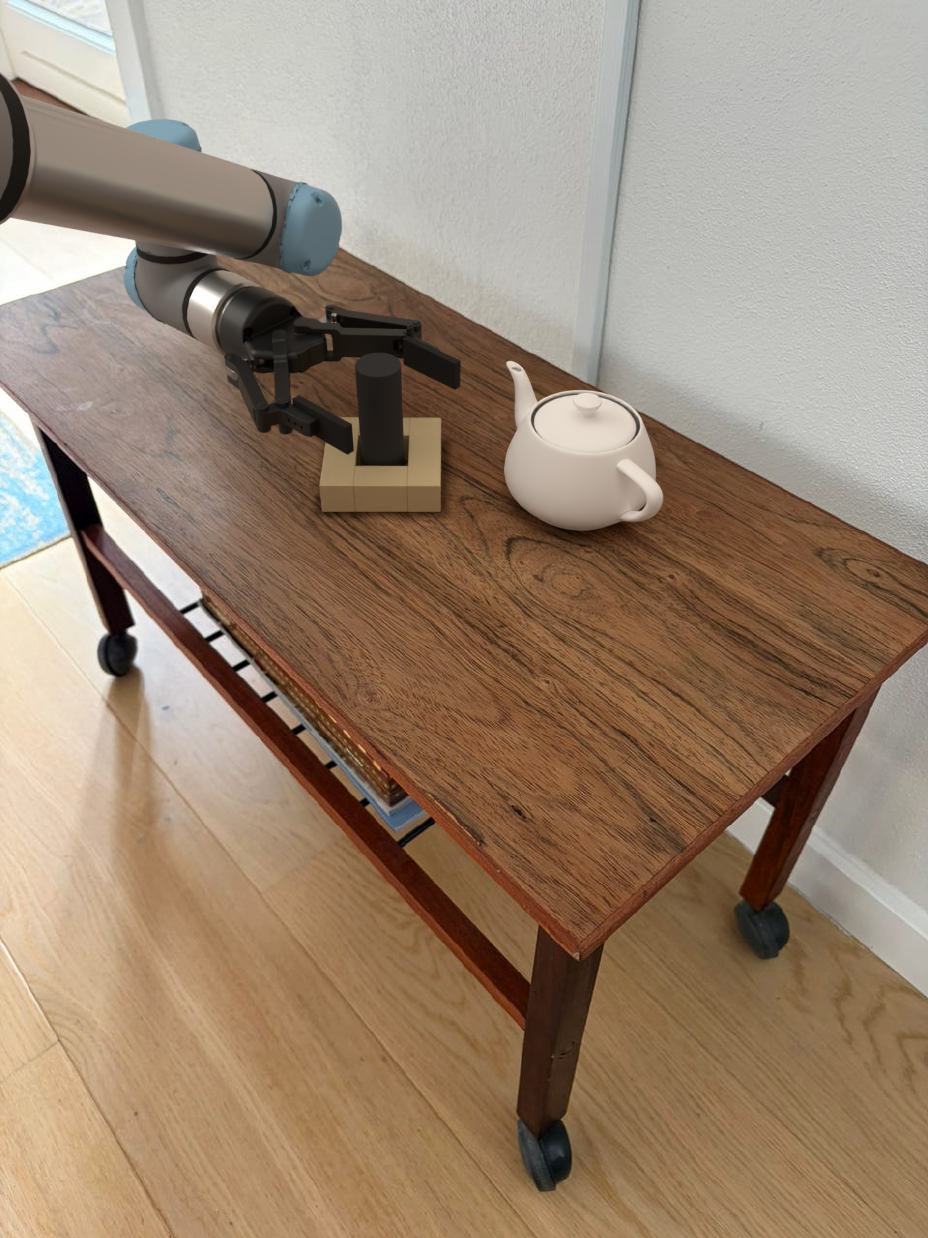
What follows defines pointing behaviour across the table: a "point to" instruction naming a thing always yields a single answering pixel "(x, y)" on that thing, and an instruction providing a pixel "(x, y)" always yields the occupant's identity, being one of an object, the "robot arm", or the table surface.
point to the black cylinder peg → (380, 409)
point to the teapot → (580, 458)
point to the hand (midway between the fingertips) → (406, 406)
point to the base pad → (385, 474)
